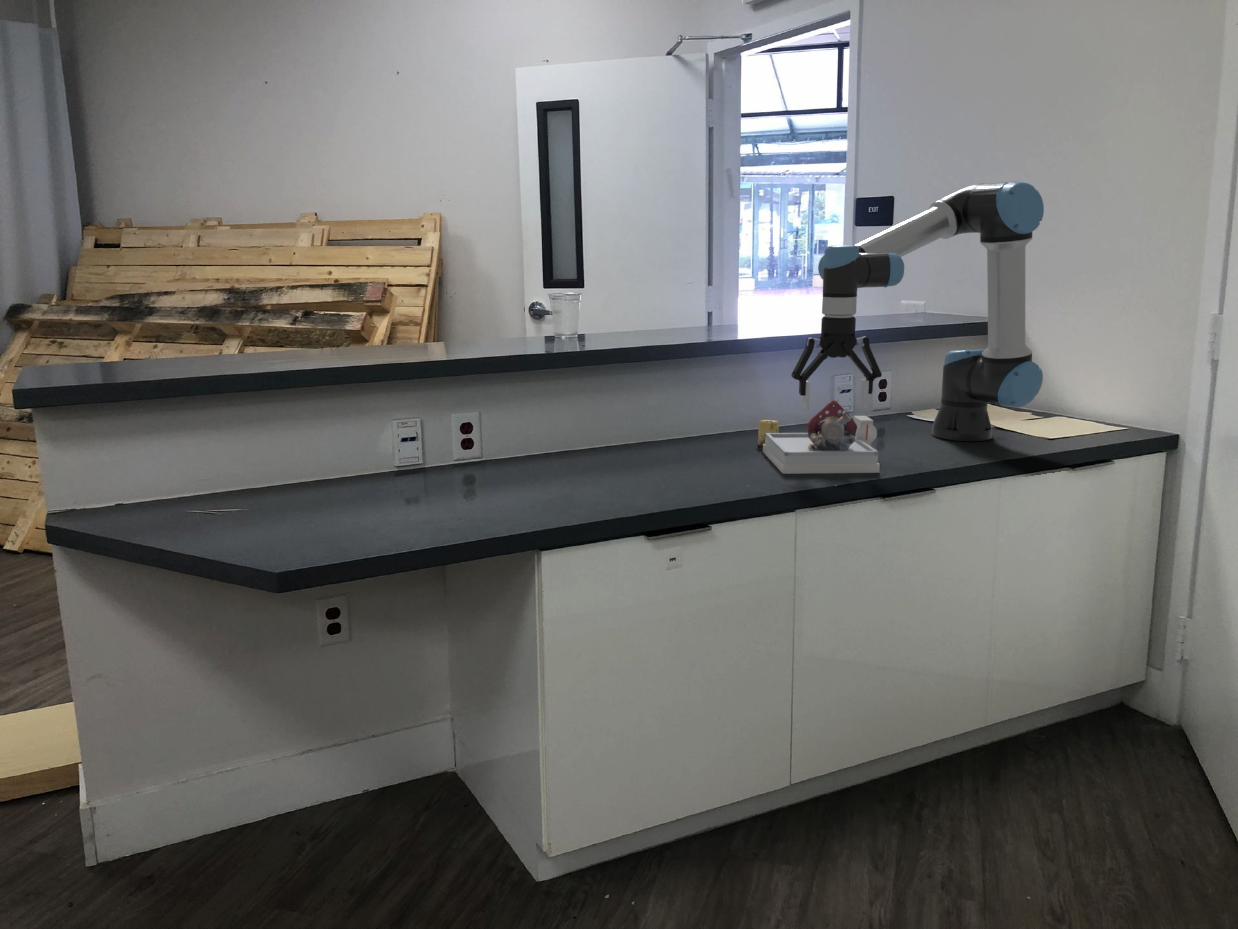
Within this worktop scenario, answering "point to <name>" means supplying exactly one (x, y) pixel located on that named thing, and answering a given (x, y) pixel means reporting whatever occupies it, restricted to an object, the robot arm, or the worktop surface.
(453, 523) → the worktop surface
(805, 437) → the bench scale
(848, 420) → the brake caliper
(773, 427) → the brass spacer
